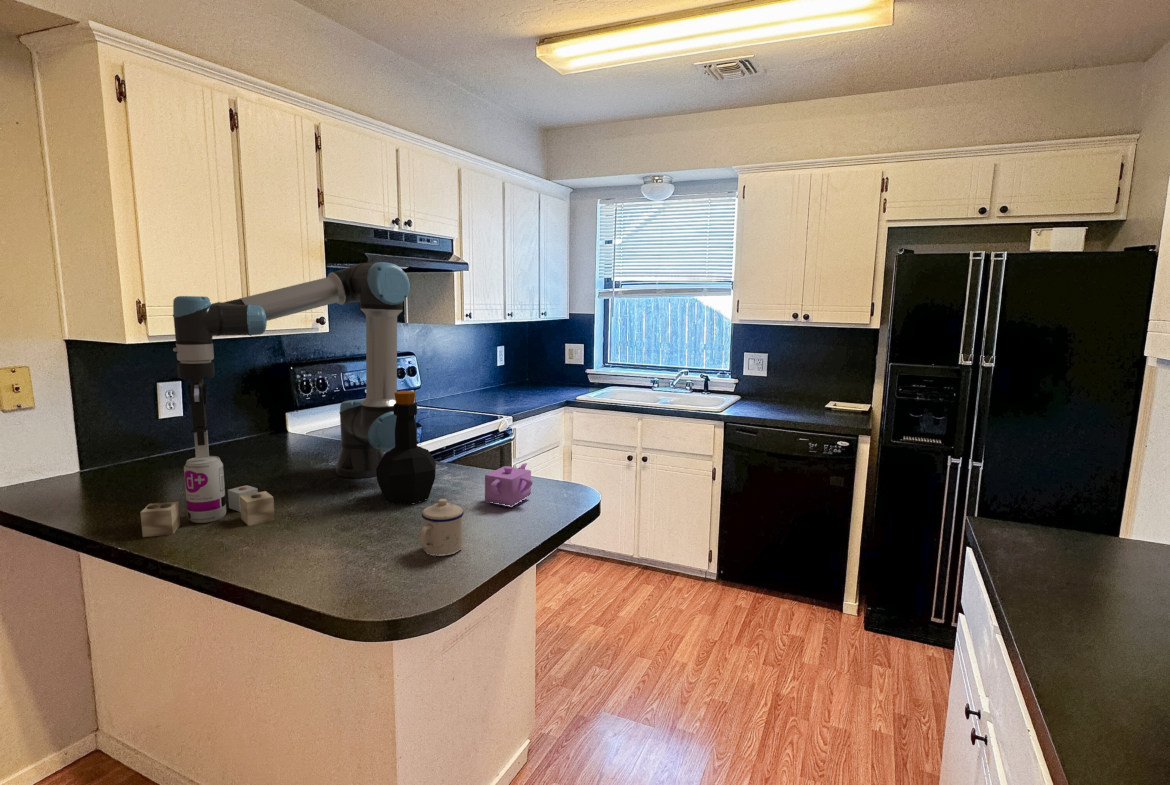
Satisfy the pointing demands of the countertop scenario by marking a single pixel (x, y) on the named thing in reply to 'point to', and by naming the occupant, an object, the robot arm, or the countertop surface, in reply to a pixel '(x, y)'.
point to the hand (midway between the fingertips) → (202, 457)
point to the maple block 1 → (160, 519)
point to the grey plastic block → (237, 492)
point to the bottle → (406, 458)
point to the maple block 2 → (257, 508)
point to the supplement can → (205, 489)
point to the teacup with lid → (442, 528)
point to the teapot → (508, 485)
